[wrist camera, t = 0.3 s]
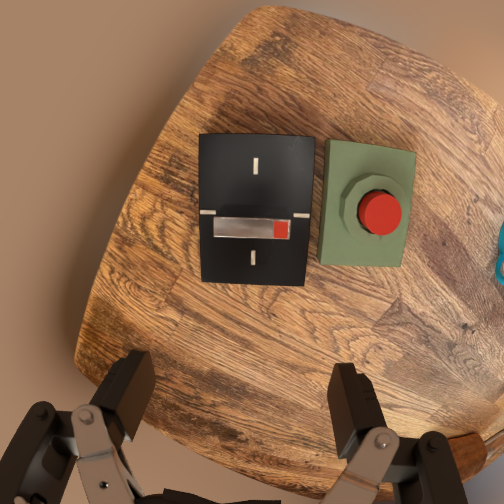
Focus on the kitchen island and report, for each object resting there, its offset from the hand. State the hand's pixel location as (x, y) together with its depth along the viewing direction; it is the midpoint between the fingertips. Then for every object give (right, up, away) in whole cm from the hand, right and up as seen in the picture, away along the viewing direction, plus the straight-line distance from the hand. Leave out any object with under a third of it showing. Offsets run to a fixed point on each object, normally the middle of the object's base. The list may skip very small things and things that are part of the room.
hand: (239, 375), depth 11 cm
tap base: (+1, +10, +17) cm, 19 cm away
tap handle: (+1, +9, +14) cm, 16 cm away
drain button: (+12, +9, +12) cm, 19 cm away
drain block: (+12, +10, +16) cm, 22 cm away
